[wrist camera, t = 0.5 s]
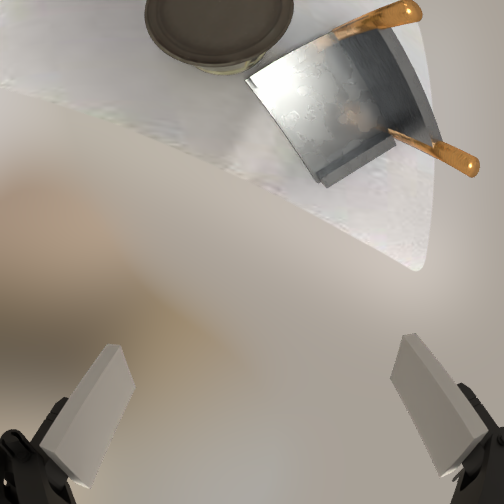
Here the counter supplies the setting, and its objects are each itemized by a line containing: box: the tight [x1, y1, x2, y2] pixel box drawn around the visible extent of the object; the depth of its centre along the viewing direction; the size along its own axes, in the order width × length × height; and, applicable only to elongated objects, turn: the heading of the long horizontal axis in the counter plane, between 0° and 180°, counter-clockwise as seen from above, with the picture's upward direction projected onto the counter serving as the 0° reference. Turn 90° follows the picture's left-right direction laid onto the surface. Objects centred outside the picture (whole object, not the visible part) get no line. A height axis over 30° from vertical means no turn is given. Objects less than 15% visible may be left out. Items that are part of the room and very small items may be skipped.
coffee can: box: [145, 0, 294, 75], centre depth 18 cm, size 10×10×14 cm
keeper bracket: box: [245, 0, 480, 188], centre depth 23 cm, size 16×14×16 cm
